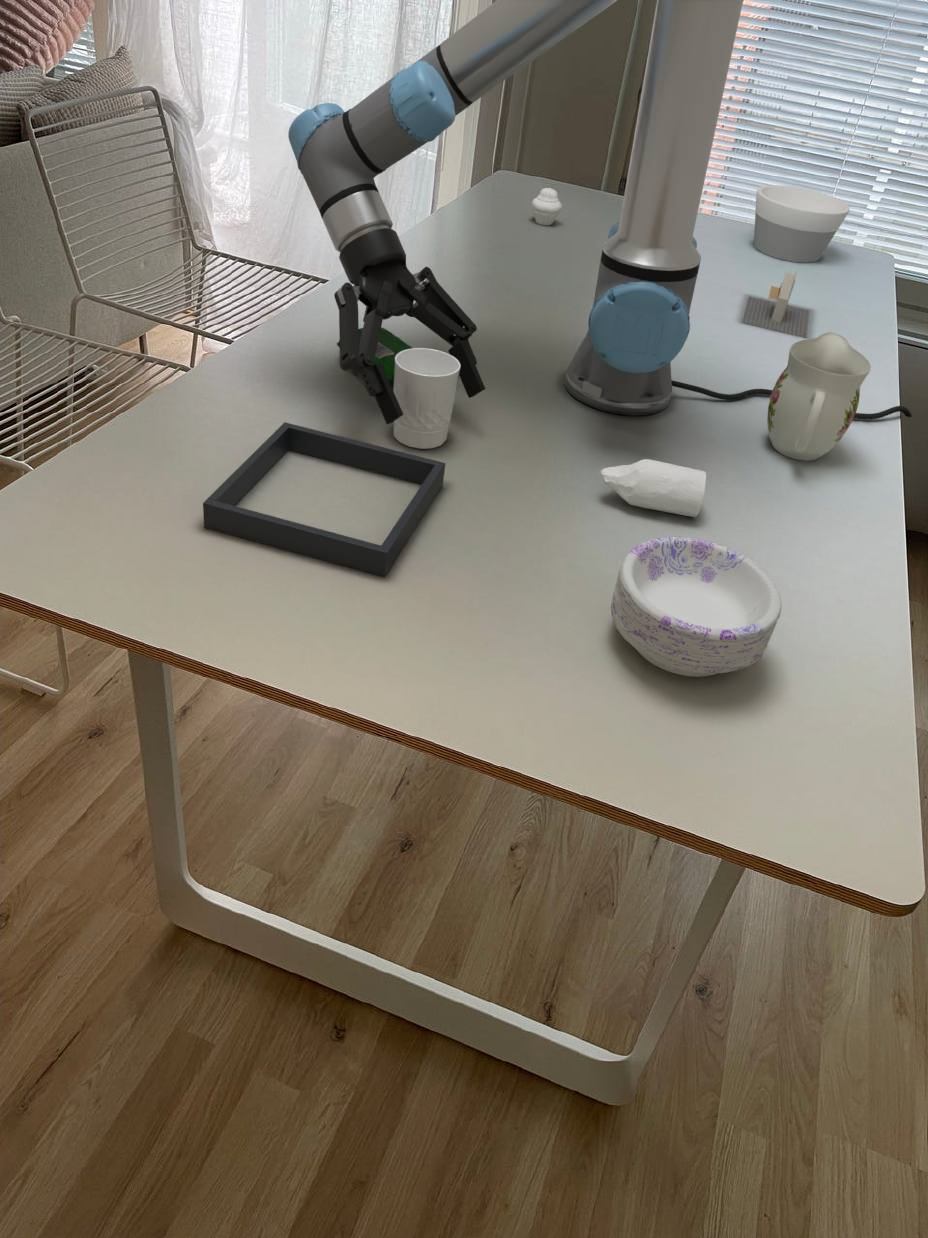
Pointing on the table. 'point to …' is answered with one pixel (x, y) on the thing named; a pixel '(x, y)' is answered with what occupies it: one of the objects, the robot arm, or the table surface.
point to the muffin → (546, 206)
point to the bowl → (796, 222)
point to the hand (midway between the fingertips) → (437, 406)
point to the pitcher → (816, 396)
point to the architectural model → (778, 310)
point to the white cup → (424, 396)
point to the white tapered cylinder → (658, 486)
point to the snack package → (387, 351)
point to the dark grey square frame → (313, 540)
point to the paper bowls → (694, 606)
